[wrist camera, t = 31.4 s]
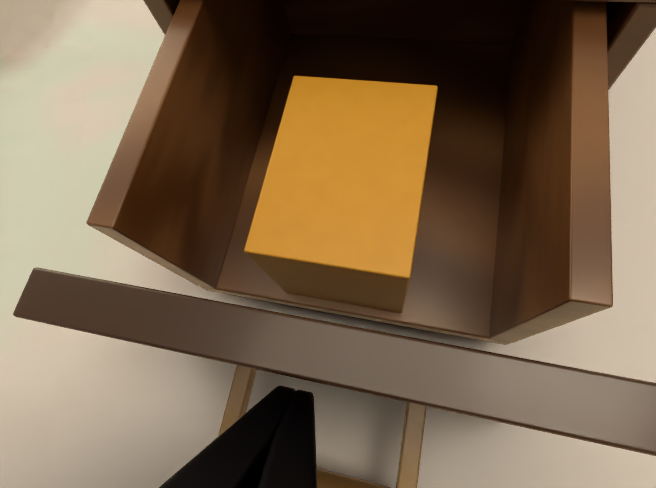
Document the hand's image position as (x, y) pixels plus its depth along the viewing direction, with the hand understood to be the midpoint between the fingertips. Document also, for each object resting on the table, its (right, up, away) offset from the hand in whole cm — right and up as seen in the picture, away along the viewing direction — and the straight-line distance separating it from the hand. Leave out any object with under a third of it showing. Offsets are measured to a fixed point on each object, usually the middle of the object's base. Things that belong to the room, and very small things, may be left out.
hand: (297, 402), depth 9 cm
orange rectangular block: (+2, +4, +7) cm, 8 cm away
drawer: (+2, +4, +8) cm, 9 cm away
